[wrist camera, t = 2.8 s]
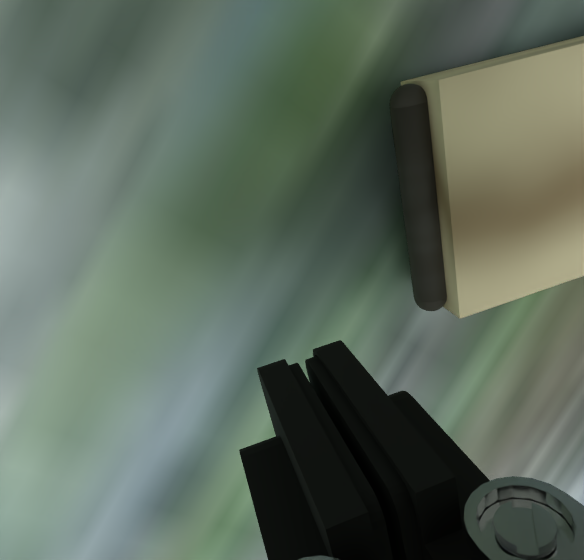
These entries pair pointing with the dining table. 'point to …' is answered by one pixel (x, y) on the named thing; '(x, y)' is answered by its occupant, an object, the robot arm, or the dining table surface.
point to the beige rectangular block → (493, 177)
